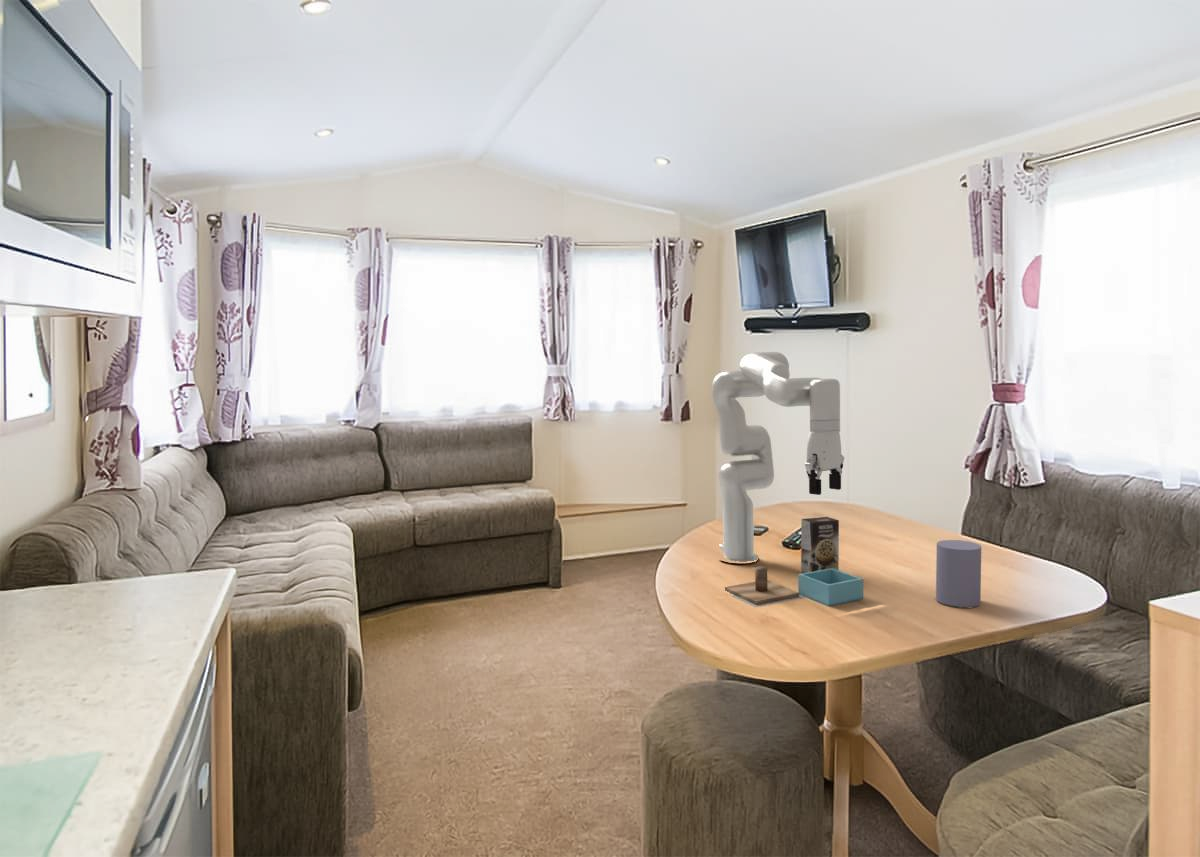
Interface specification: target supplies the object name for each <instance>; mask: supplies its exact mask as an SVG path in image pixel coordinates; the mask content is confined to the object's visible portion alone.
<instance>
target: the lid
mask: <svg viewBox="0 0 1200 857" xmlns="http://www.w3.org/2000/svg"><path fill="white" fill-rule="evenodd" d="M754 572H755V573H754V574H755V575H754V577H755V578H754V579H755V581H752V582H745V583H741V584H736V585H735V584H734V585H730V586H725V587H724V589H725V591H727V592H729V593H731V594H733V595H735V596H737V597H740V598H742V599H744V600H746V601H748V602H750V603H753V604H755V605H759V604H764V603H769V602H774V601H779V600H784V599H790V598H795V597H799V593H798V591H796V590H794V589H790V588H789V587H786V586H783V585H781V584H778V583H776V582H774V581H771V580H768V567H766V566H756V567H755V568H754Z"/></svg>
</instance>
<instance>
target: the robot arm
mask: <svg viewBox="0 0 1200 857" xmlns="http://www.w3.org/2000/svg"><path fill="white" fill-rule="evenodd" d="M790 375H791V373H790V363H789V361H788V359H787V357H786V356H785V355H784V354H783V353H781V352H778V351H767V352H764V351H762V352H760V351H759V352H751V353H750V352H749V353H747V354H746V355H744V356H743V357H742V358H741V360H740V362H739V369H738V370H737V369H735V370H726V371H722V372H720V373H718V374H716V376H715V377H713V381H712V382H711V383H712V384H711V396H712V401H713V403H714V407H715V409H716V414H717V418H718V419H717V420H718V431H719V432H718V433H719V440H720V446H721V451H722V454H724V455H725V456H727V457H744V456H745V457H746V456H747V457H748V456H751V459H744V460H743V459H742V460H732V461H729V462H726V463H724V464H723V465H722V466H721V467H720V469H719V472H718V479H719V484H720V489H721V497H722V498H721V499H722V500H721V501H722V543H720V544H719V545H718V547H719V549H722V552H721V553H723V555H724V557H725V558H728V559H729V560H730V561H735V562H736V561H739V562H747V561H754V560H757V559H758V558H759V559H760V556H759V555H758V554H756V553H754V550H755V548H754V546H755V545H754V543H755V542H754V538H755V537H754V534H755V533H754V531H755V530H754V529H755V528H754V526H755V525H754V504H753V501H752V499H751V498H750V496H749V495H748V493H747V491H753V490H762V489H767V488H769V487H770V486H771V485H772V484H773V482H774V478H775V473H774V472H775V471H774V461H773V460H774V459H773V452H772V443H771V442H772V441H771V437H770V434H769V432H768V430H767V429H766V428H765V427H764V426H761V425H758V424H751V425H747V423H746V422H747V420H746V412H745V410H744V407H743V406H742V405H741V404H740V402H739V401H738V400H737V398H755V397H756V398H757V397H758V398H759V397H763V396H765V397H766V398H767V399H768V400H769V401H771V402H773V403H775V404H776V405H779V406H782V407H786V408H787V407H788V408H791V407H808V406H809V433H808V439H807V448H806V462H805V464H804V466H805V467H804V468H805V470H806V474H807V479H808V493H809V494H810V495H817V496H818V495H819V496H820V495H821V494H822V479H821V476H822V473H823V472H827V471H829V472H830V473H829V474H828V482H829V483H828V487H829V489H830V490H838V491H839V490H842V474H843V470H842V469H843V467H844V462H845V456H844V455H843V454H842V443H841V434H840V432H841V385H840V381H839V379H836V378H821V377H793V378H790Z"/></svg>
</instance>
